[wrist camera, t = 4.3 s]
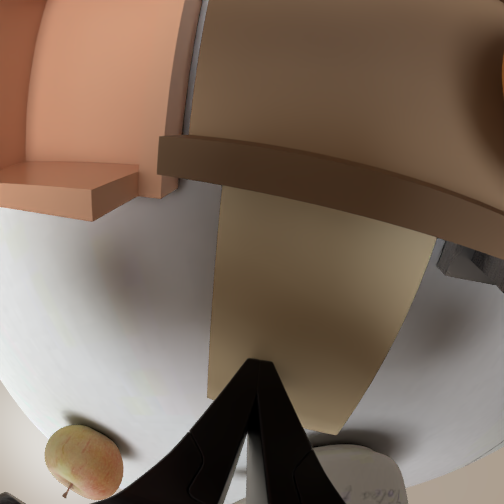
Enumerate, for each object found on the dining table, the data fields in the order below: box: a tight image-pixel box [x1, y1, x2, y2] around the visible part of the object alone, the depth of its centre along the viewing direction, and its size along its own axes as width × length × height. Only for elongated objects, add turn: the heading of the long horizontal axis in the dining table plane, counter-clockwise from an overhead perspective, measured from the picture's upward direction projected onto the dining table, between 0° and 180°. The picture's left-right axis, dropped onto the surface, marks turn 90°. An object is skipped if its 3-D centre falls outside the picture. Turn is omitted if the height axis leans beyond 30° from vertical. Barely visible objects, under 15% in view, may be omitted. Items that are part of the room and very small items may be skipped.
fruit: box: [45, 425, 123, 500], centre depth 17 cm, size 8×7×8 cm
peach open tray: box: [0, 0, 202, 222], centre depth 6 cm, size 10×9×4 cm
